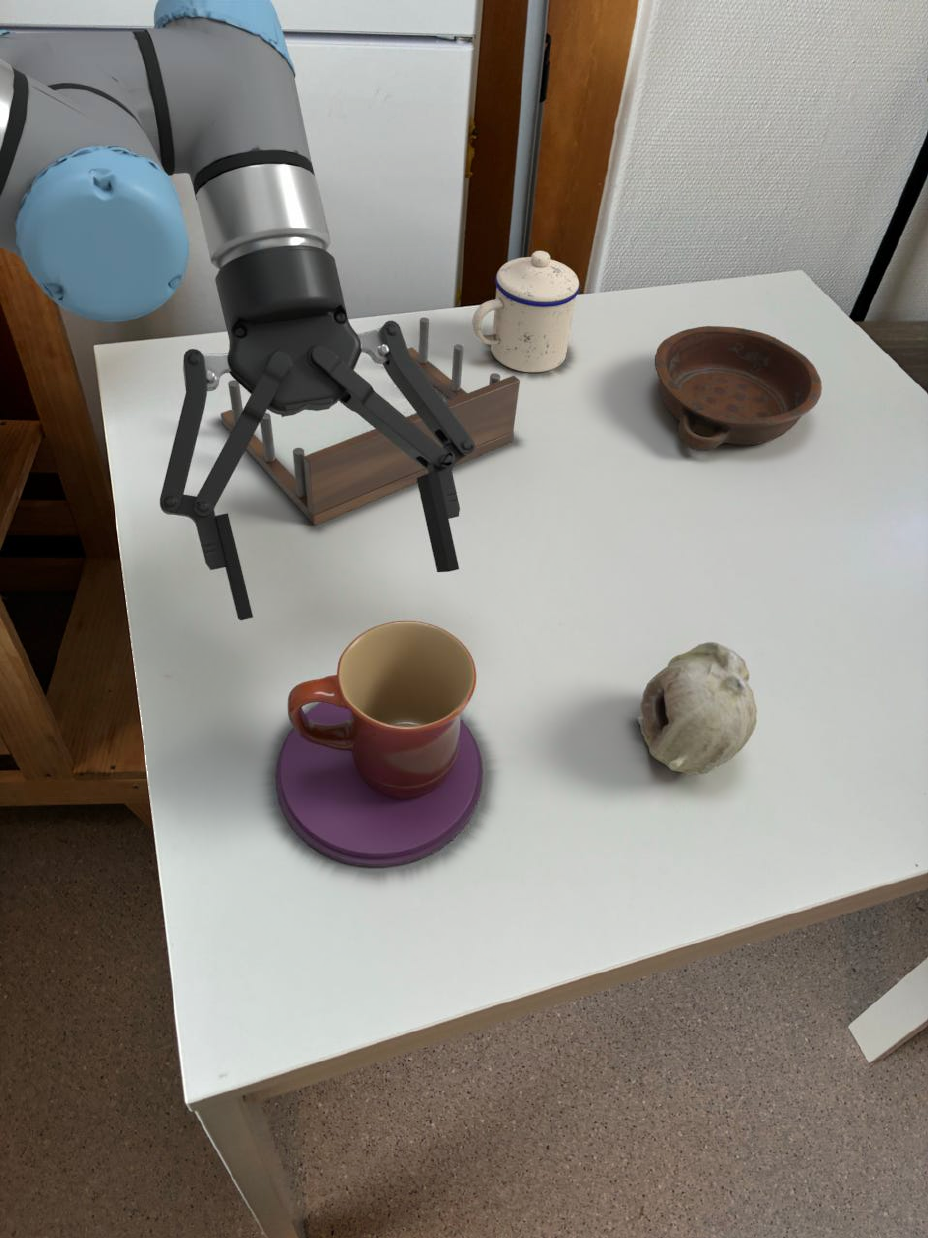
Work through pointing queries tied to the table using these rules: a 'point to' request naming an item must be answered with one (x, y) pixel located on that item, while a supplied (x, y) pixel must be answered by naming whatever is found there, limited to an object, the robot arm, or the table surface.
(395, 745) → the mug
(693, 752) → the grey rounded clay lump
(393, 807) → the plum lid
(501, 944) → the table surface
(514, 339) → the teacup with lid
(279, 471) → the dish rack
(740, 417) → the dish
